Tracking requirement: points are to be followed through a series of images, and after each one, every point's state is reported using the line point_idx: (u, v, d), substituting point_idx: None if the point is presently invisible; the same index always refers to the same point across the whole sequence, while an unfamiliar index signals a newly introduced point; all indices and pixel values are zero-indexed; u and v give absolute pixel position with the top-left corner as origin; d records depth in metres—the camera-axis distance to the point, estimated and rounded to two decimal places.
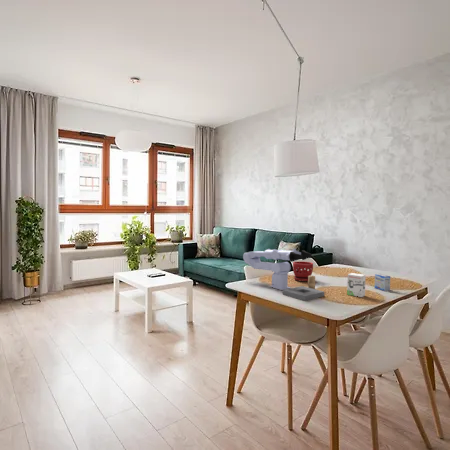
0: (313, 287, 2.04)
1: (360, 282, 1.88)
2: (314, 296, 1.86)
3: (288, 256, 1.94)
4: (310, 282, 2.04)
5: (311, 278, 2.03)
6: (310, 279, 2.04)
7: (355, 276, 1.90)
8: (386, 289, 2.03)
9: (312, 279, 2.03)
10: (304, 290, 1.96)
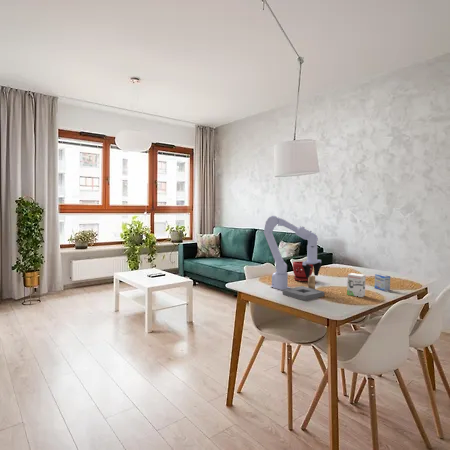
0: (313, 287, 2.04)
1: (360, 282, 1.88)
2: (314, 296, 1.86)
3: (304, 265, 2.00)
4: (310, 282, 2.04)
5: (311, 278, 2.03)
6: (310, 279, 2.04)
7: (355, 276, 1.90)
8: (386, 289, 2.03)
9: (312, 279, 2.03)
10: (304, 290, 1.96)
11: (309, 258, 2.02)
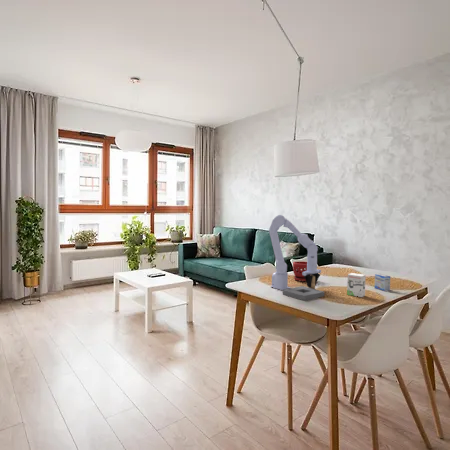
0: (313, 287, 2.04)
1: (360, 282, 1.88)
2: (314, 296, 1.86)
3: None
4: None
5: None
6: None
7: (355, 276, 1.90)
8: (386, 289, 2.03)
9: (312, 279, 2.03)
10: (304, 290, 1.96)
11: (309, 268, 2.03)
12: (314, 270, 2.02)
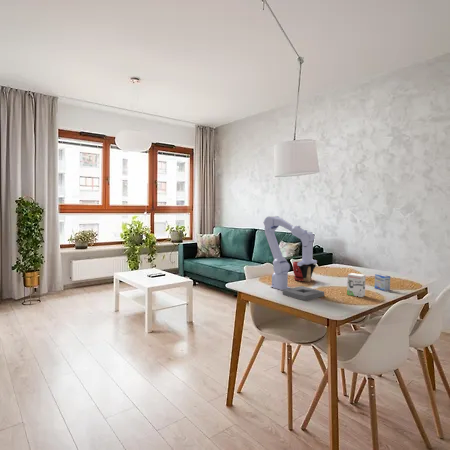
0: (308, 278, 1.95)
1: (360, 282, 1.88)
2: (314, 296, 1.86)
3: (299, 265, 1.92)
4: None
5: None
6: None
7: (355, 276, 1.90)
8: (386, 289, 2.03)
9: (307, 270, 1.95)
10: (304, 290, 1.96)
11: (304, 258, 1.95)
12: (310, 260, 1.94)
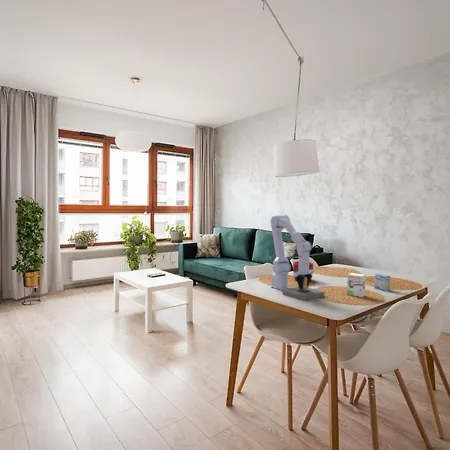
0: (305, 289, 1.90)
1: (360, 282, 1.88)
2: (314, 296, 1.86)
3: None
4: None
5: None
6: None
7: (355, 276, 1.90)
8: (386, 289, 2.03)
9: (304, 280, 1.90)
10: None
11: (300, 269, 1.90)
12: (306, 271, 1.89)
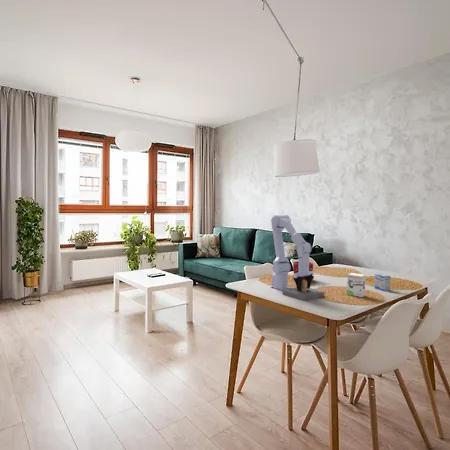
0: None
1: (360, 282, 1.88)
2: (314, 296, 1.86)
3: (295, 277, 1.88)
4: (302, 288, 1.91)
5: (302, 283, 1.90)
6: None
7: (355, 276, 1.90)
8: (386, 289, 2.03)
9: (303, 284, 1.90)
10: None
11: (300, 270, 1.90)
12: (306, 272, 1.89)
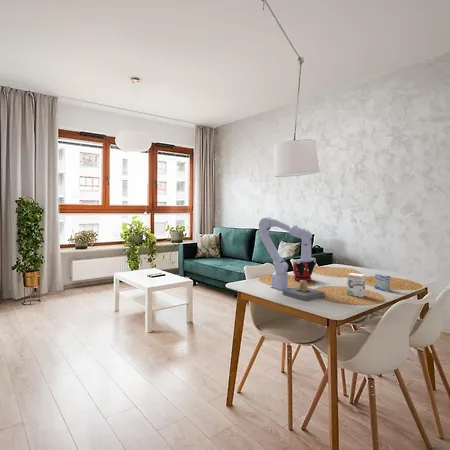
0: None
1: (360, 282, 1.88)
2: (314, 296, 1.86)
3: (298, 263, 1.98)
4: (302, 288, 1.91)
5: (302, 283, 1.90)
6: (301, 284, 1.91)
7: (355, 276, 1.90)
8: (386, 289, 2.03)
9: (303, 284, 1.90)
10: None
11: (303, 256, 2.00)
12: (308, 258, 2.00)
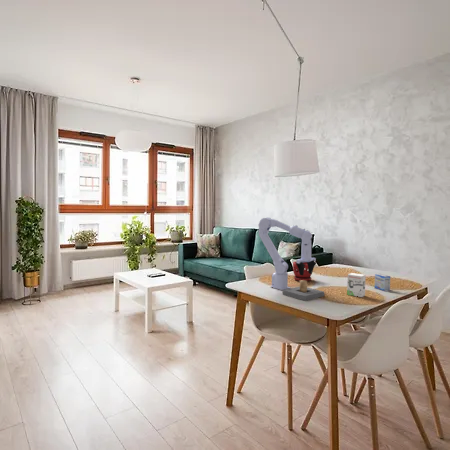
0: None
1: (360, 282, 1.88)
2: (314, 296, 1.86)
3: (298, 263, 1.99)
4: (302, 288, 1.91)
5: (302, 283, 1.90)
6: (301, 284, 1.91)
7: (355, 276, 1.90)
8: (386, 289, 2.03)
9: (303, 284, 1.90)
10: None
11: (303, 256, 2.01)
12: (308, 258, 2.00)
